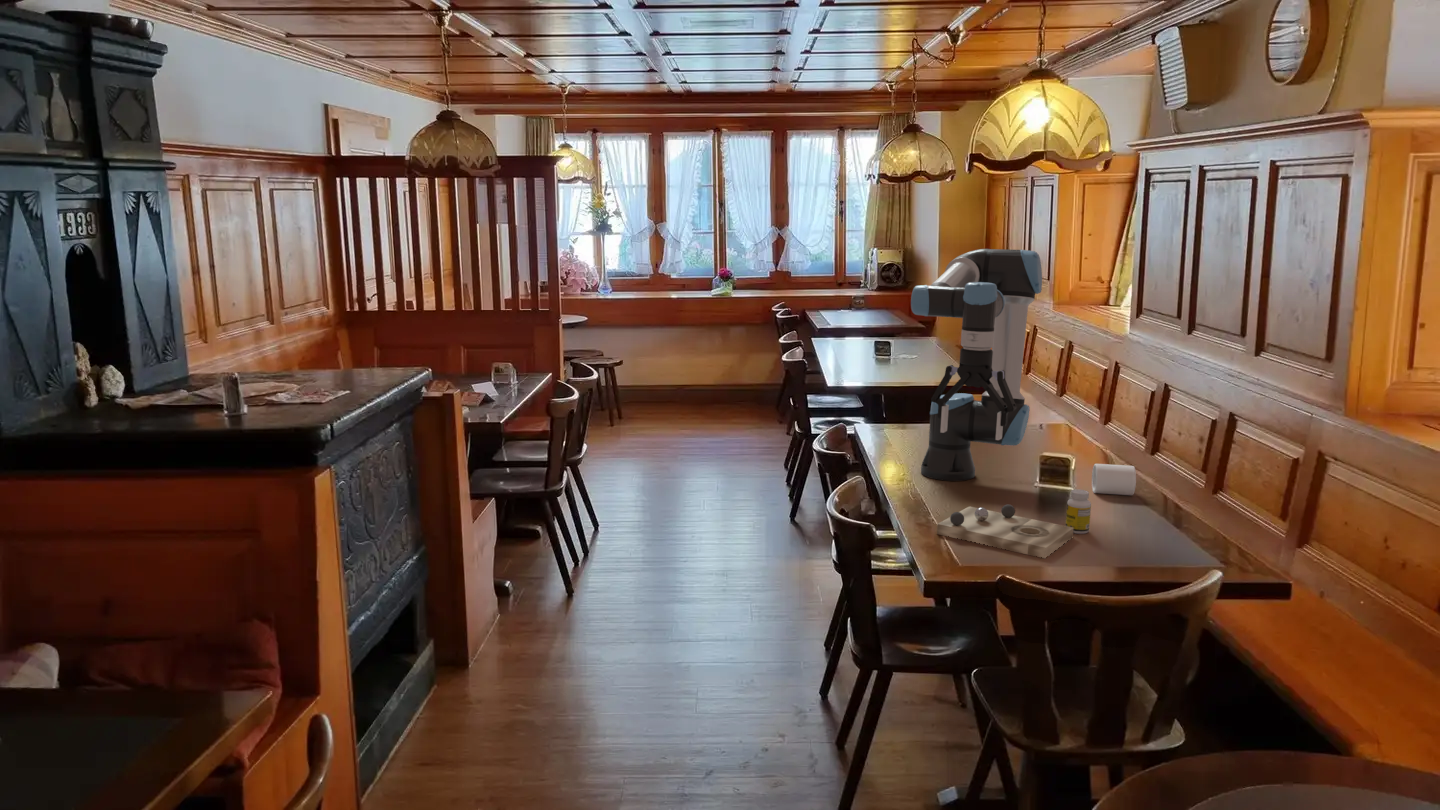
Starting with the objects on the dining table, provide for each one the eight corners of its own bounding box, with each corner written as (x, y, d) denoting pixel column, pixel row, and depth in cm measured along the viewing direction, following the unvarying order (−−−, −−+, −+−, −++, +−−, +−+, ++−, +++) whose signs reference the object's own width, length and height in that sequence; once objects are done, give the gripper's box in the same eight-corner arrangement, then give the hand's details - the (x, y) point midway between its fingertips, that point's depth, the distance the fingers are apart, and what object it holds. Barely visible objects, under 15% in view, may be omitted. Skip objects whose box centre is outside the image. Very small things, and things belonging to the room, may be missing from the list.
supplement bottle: (1061, 527, 245) (1064, 488, 243) (1082, 526, 246) (1086, 488, 244) (1070, 534, 240) (1074, 494, 238) (1092, 534, 240) (1096, 494, 238)
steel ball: (971, 520, 241) (972, 508, 240) (977, 517, 243) (978, 504, 243) (984, 523, 239) (985, 510, 238) (990, 520, 241) (991, 507, 241)
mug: (1134, 499, 269) (1137, 470, 268) (1095, 496, 271) (1097, 467, 270) (1126, 486, 281) (1128, 459, 279) (1088, 484, 283) (1090, 456, 281)
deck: (936, 534, 239) (937, 523, 238) (968, 515, 253) (969, 506, 252) (1045, 558, 223) (1046, 547, 223) (1072, 537, 237) (1073, 527, 237)
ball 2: (998, 517, 244) (999, 505, 243) (1003, 514, 246) (1004, 501, 245) (1011, 520, 242) (1012, 507, 241) (1016, 517, 244) (1017, 504, 243)
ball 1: (947, 525, 237) (948, 512, 237) (953, 522, 240) (954, 509, 239) (960, 528, 235) (961, 515, 235) (966, 525, 238) (966, 511, 237)
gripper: (921, 345, 243) (916, 431, 247) (1025, 354, 230) (1018, 445, 234) (932, 342, 250) (927, 426, 254) (1034, 351, 237) (1027, 439, 241)
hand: (970, 435), depth 244 cm, fingers open, 13 cm apart
